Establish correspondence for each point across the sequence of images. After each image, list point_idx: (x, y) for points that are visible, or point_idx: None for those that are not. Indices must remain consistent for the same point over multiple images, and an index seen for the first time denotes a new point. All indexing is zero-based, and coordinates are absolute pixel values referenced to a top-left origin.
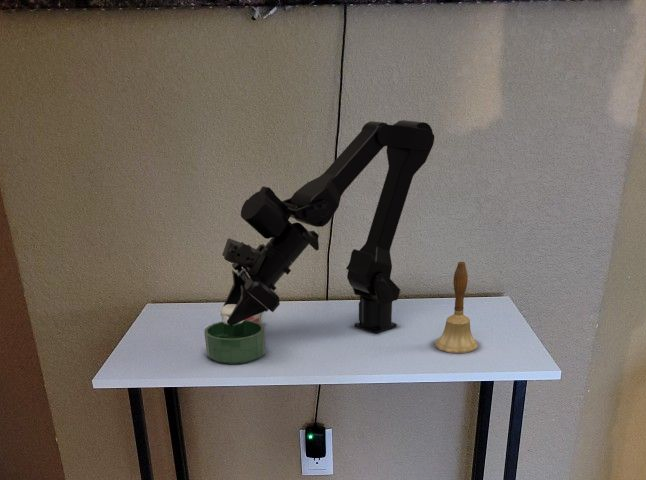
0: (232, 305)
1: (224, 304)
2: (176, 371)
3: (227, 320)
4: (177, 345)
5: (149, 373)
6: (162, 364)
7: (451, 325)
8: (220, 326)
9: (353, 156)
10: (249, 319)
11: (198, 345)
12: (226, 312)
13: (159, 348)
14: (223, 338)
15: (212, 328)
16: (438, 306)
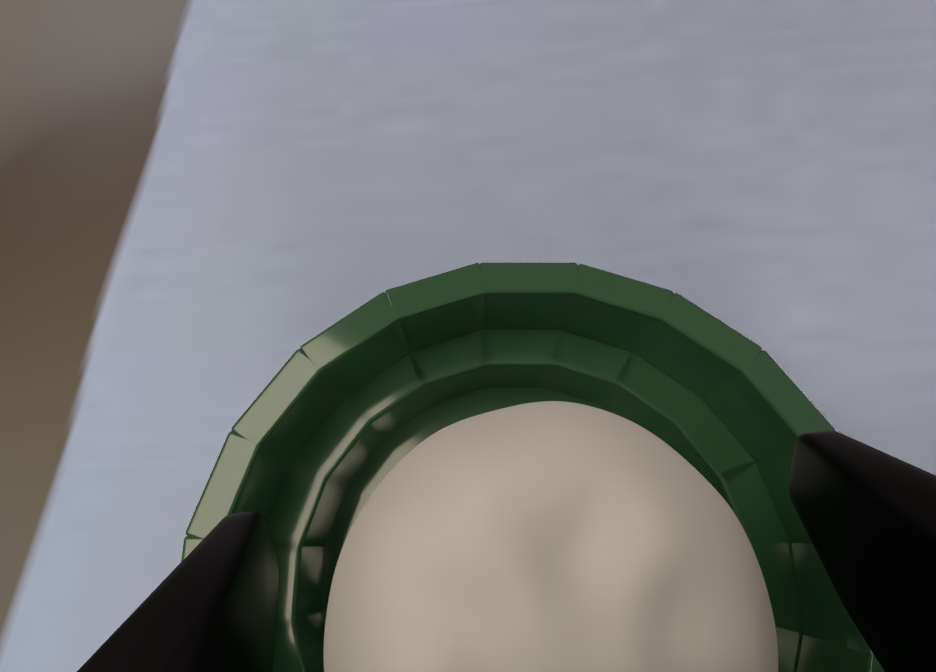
0: (541, 650)
1: (894, 477)
2: (268, 150)
3: (238, 522)
4: (768, 132)
5: (277, 6)
6: (414, 64)
7: None
8: (769, 430)
9: None
10: None
11: (761, 272)
12: (370, 512)
13: (715, 30)
14: (242, 461)
15: (680, 344)
16: None
